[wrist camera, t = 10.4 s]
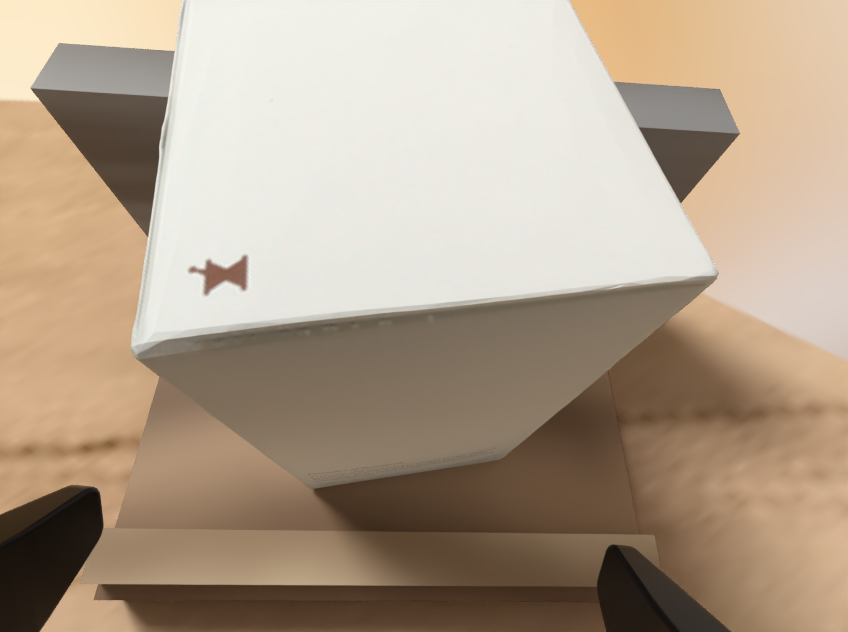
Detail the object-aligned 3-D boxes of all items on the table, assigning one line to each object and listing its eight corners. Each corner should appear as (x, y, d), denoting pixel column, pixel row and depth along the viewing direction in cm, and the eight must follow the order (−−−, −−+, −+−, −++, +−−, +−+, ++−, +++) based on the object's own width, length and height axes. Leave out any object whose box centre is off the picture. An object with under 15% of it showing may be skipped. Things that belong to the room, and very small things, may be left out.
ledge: (657, 597, 16) (978, 661, 7) (89, 595, 15) (-338, 667, 6) (592, 265, 23) (719, 89, 14) (193, 247, 22) (58, 43, 13)
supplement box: (507, 462, 17) (749, 293, 5) (305, 493, 16) (90, 364, 4) (469, 293, 20) (570, -33, 9) (300, 309, 19) (168, -31, 8)
